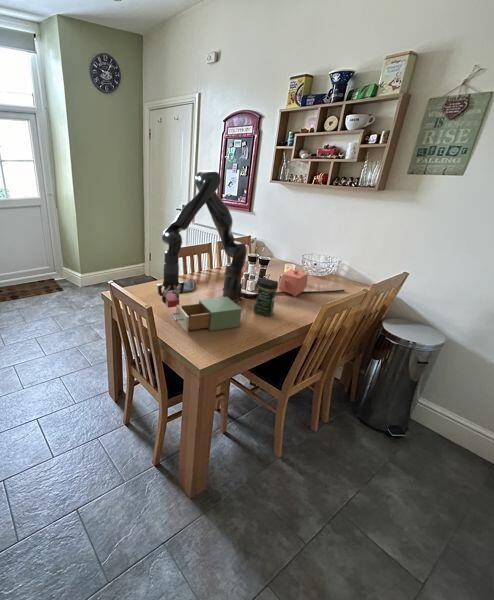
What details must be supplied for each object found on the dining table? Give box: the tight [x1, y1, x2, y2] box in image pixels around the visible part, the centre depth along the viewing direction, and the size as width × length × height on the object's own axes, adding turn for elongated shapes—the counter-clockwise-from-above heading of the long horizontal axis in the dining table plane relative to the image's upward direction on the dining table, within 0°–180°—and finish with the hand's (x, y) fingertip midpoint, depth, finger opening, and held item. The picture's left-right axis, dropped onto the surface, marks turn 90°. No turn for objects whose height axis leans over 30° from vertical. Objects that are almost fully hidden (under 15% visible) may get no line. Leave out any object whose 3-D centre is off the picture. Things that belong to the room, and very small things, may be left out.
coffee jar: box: [253, 277, 279, 317], centre depth 169 cm, size 10×8×19 cm
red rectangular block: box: [164, 292, 180, 309], centre depth 168 cm, size 6×10×4 cm, turn 17°
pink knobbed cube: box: [278, 269, 308, 297], centre depth 196 cm, size 22×13×14 cm, turn 134°
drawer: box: [170, 302, 211, 333], centre depth 157 cm, size 19×13×8 cm
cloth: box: [168, 279, 196, 294], centre depth 202 cm, size 26×14×2 cm, turn 131°
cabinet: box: [198, 297, 243, 331], centre depth 161 cm, size 16×15×10 cm
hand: (170, 301), depth 169 cm, fingers closed on red rectangular block, 6 cm apart
